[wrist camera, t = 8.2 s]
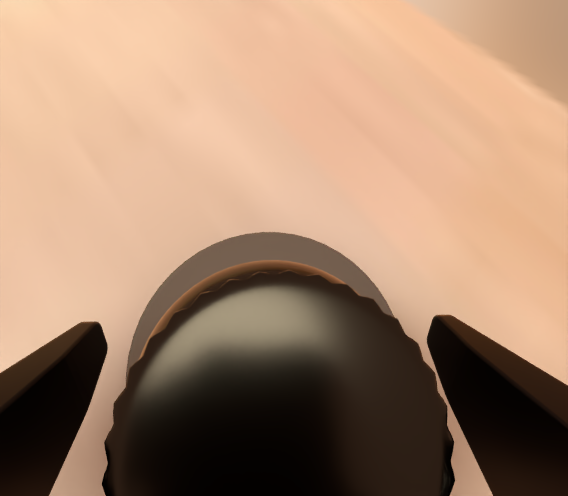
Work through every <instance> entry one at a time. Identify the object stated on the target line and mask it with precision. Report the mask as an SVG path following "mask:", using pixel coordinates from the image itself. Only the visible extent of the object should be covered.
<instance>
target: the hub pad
mask: <svg viewBox="0 0 568 496" xmlns="http://www.w3.org/2000/svg"><path fill="white" fill-rule="evenodd" d="M262 260H282V261H291V262H296V263H302V264H305V265H309V266H312V267H315V268H317V269H320V270H323V271H325V272H327V273H329V274H331V275H333V276H335V277H336V278H338V279H340V280H341V281H343V282H344V283H346V284H348V285H349V286H350V287H351V288H352V289H354V290H355V291H356V292H357V293H358V294H359V295H361V296H365V297H369V298H372V299H374V300H375V302H376V303H377V304H378V305H379V307H380V308H381V310H382V311H383V312H384V313H385V314H388V315H391V316H393V314H392V312H391V310H390V308H389V306H388V304H387V302H386V300H385V299H384V297H383V296H382V294H381V293H380V291H379V290H378V288H377V287H376V286H375V284H374V283H373V282H372V281H371V280H370V279H369V277H368V276H367V275H366V274H365V273H364V272H363V271H362V270H361V269H360V268H359V267H358V266H356V265H355V264H354V263H353V262H352V261H351V260H349V259H348V258H346V257H345V256H344V255H342V254H341V253H339V252H338V251H336V250H334V249H332V248H330V247H328V246H327V245H325V244H322V243H320V242H317V241H315V240H312V239H309V238H305V237H302V236H298V235H294V234H286V233H279V232H260V233H252V234H245V235H240V236H236V237H232V238H229V239H226V240H223V241H221V242H218V243H215V244H213V245H211V246H209V247H207V248H206V249H204V250H202V251H200V252H198V253H197V254H195V255H194V256H192V257H191V258H189V259H188V260H187V261H185V262H184V263H183V264H182V265H180V266H179V267H178V268H177V269H176V270H175V271H174V272H173V273H171V275H170V276H169V277H168V278H167V279H166V280H165V281H164V282H163V284H162V285H161V286H160V287H159V288H158V290H157V291H156V293H155V294H154V296H153V297H152V299H151V300H150V301H149V303H148V305H147V307H146V309H145V311H144V312H143V314H142V316H141V318H140V320H139V323H138V326H137V328H136V331H135V334H134V336H133V340H132V344H131V348H130V352H129V356H128V364H127V372H126V383H127V376H128V372H129V368H130V367H131V366H132V365H133V364H134V363H135V362H136V361H138V360H139V358H140V356H141V353H142V350H143V348H144V346H145V344H146V342H147V340H148V338H149V336H150V335H151V333H152V331H153V330H154V328H155V326H156V325H157V323H158V322H159V321H160V319H161V318H162V317H163V315H164V314H165V313H166V311H167V310H168V309H169V308H170V307H171V306H172V305H173V304H174V303H175V302H176V301H177V300H178V299H179V298H180V297H181V296H182V295H183V294H184V293H185V292H187V291H188V290H189V289H190V288H192V287H193V286H194V285H196V284H197V283H199V282H200V281H202V280H204V279H205V278H207V277H209V276H211V275H213V274H215V273H216V272H219V271H221V270H224V269H226V268H229V267H232V266H235V265H239V264H242V263H247V262H252V261H262ZM393 317H394V316H393Z"/></svg>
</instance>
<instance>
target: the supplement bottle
mask: <svg viewBox="0 0 568 496" xmlns="http://www.w3.org/2000/svg"><path fill="white" fill-rule="evenodd" d="M113 417H114V424H113V427H112V429H111V431H110V432H109V433H108V436H107V438H106V440H105V442H104V444H105V451H106V456H107V461H108V465H107V469H106V471H105V473H104V477H103V481H102V486H103V489H104V492H105V495H106V496H449V495H450V493H451V491H452V488H453V485H454V482H455V478H454V472H453V469H452V466H451V457H452V452H453V446H454V441H453V438H452V435H451V433H450V431H449V429H448V427H447V405H446V403H445V402H444V400H443V398H442V397H441V396H440V394H439V393H438V391H437V381H436V376H435V372H434V371H433V370H432V369H431V368H430V367H429V366H428V365H427V364H426V363H425V362H424V361H423V357H422V353H421V350H420V347H419V345H418V343H417V342H415V341H414V340H413V339H411V338H409V337H408V336H407V335H405V333H404V331H403V329H402V326H401V325H400V323H399V321H398V319H397V318H395V317H393V316H391V315H388V314H385V313H384V312H383V311H382V310H381V308H380V307H379V305H378V304H377V303H376V302H375V300H374V299H372V298H369V297H365V296H361V295H359V294H358V293H357V292H356V291H355V290H354V289H352V288H351V287H350V286H349V285H348V284H346V283H344V282H343V281H341V280H340V279H338V278H336V277H335V276H333V275H331V274H329V273H327V272H325V271H323V270H320V269H317V268H315V267H312V266H309V265H305V264H302V263H296V262H291V261H282V260H262V261H252V262H247V263H242V264H239V265H235V266H232V267H229V268H226V269H224V270H221V271H219V272H216V273H215V274H213V275H211V276H209V277H207V278H205V279H204V280H202V281H200V282H199V283H197V284H196V285H194V286H193V287H192V288H190V289H189V290H188V291H187V292H185V293H184V294H183V295H182V296H181V297H180V298H179V299H178V300H177V301H176V302H175V303H174V304H173V305H172V306H171V307H170V308H169V309H168V310H167V311H166V313H165V314H164V315H163V317H162V318H161V319H160V321H159V322H158V323H157V325H156V326H155V328H154V330H153V331H152V333H151V335H150V336H149V338H148V340H147V342H146V344H145V346H144V348H143V350H142V353H141V356H140V358H139V360H138V361H136V362H135V363H134V364H133V365H132V366H131V367H130V368H129V372H128V376H127V383H126V388H125V389H124V391H123V392H122V393H121V394H120V395H119V397H118V398H117V400H116V401H115V403H114V410H113Z"/></svg>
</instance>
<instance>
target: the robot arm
mask: <svg viewBox="0 0 568 496" xmlns="http://www.w3.org/2000/svg"><path fill="white" fill-rule="evenodd" d="M427 344H428V348H429V351H430V353H431V356H432V359H433V362H434V365H435V367H436V370H437V373H438V376H439V378H440V381H441V384H442V387H443V390H444V392H445V395H446V397H447V399H448V402H449V404H450V406H451V408H452V410H453V412H454V415H455V417H456V419H457V421H458V423H459V425H460V427H461V429H462V431H463V433H464V435H465V438H466V440H467V442H468V444H469V446H470V448H471V450H472V452H473V454H474V456H475V459H476V461H477V463H478V465H479V467H480V469H481V471H482V473H483V475H484V477H485V479H486V482H487V484H488V486H489V488H490V490H491V492H492V494H493V496H568V385H566V384H564V383H563V382H561V381H559V380H558V379H556V378H554V377H553V376H551V375H549V374H548V373H546V372H544V371H543V370H541V369H539V368H538V367H536V366H534V365H533V364H531V363H529V362H528V361H526V360H525V359H523V358H521V357H520V356H518V355H516V354H515V353H513V352H511V351H510V350H508V349H506V348H505V347H503V346H501V345H500V344H498V343H496V342H495V341H493V340H491V339H490V338H488V337H486V336H485V335H483V334H482V333H480V332H478V331H477V330H475V329H473V328H472V327H470V326H468V325H467V324H465V323H463V322H462V321H460V320H458V319H457V318H455V317H453V316H452V315H436V316H435V317H434V318H433V320H432V323H431V326H430V329H429V333H428V336H427ZM107 349H108V347H107V342H106V339H105V336H104V333H103V330H102V327H101V325H100V323H98V322H81V323H79V324H77V325H76V326H74V327H72V328H71V329H69V330H68V331H66V332H65V333H63V334H61V335H60V336H58V337H57V338H55V339H54V340H52V341H50V342H49V343H47V344H46V345H44V346H42V347H41V348H39V349H38V350H36V351H35V352H33V353H31V354H30V355H28V356H27V357H25V358H23V359H22V360H20V361H19V362H17V363H16V364H14V365H12V366H11V367H9V368H8V369H6V370H4V371H3V372H1V373H0V496H49V494H50V492H51V490H52V488H53V485H54V483H55V481H56V479H57V477H58V474H59V472H60V470H61V468H62V466H63V463H64V461H65V459H66V457H67V455H68V452H69V450H70V448H71V446H72V444H73V441H74V439H75V437H76V435H77V433H78V430H79V428H80V426H81V424H82V422H83V420H84V417H85V415H86V413H87V410H88V407H89V405H90V402H91V399H92V396H93V393H94V390H95V387H96V384H97V381H98V378H99V375H100V372H101V369H102V366H103V363H104V360H105V358H106V354H107Z"/></svg>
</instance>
